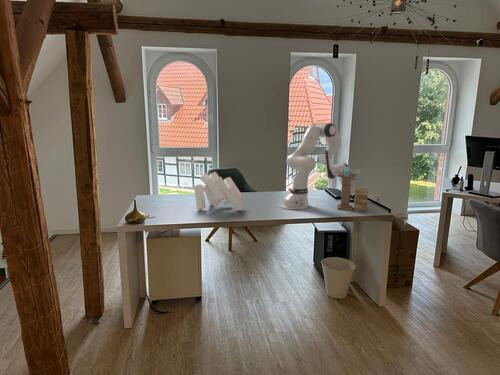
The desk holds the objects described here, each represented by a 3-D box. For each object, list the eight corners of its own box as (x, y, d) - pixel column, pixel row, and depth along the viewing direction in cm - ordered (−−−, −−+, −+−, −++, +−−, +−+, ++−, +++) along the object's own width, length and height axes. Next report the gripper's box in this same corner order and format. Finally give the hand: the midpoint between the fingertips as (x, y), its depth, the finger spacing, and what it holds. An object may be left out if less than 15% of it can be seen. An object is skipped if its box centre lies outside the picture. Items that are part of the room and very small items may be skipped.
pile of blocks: (245, 210, 276) (232, 169, 282) (247, 206, 247) (231, 160, 252) (203, 224, 273) (190, 182, 278) (199, 221, 244) (185, 175, 249)
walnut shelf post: (336, 206, 269) (338, 172, 264) (352, 206, 267) (354, 173, 261) (336, 209, 260) (338, 175, 254) (353, 210, 257) (355, 175, 251)
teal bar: (343, 171, 270) (344, 166, 269) (348, 171, 269) (348, 166, 269) (344, 176, 249) (344, 171, 249) (349, 176, 249) (350, 171, 248)
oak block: (354, 206, 267) (355, 187, 264) (365, 207, 265) (366, 188, 262) (354, 211, 256) (356, 191, 253) (366, 211, 254) (367, 191, 251)
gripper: (332, 171, 282) (332, 164, 269) (359, 172, 277) (360, 165, 264) (332, 178, 280) (332, 172, 267) (358, 179, 275) (360, 173, 263)
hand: (346, 169), depth 266 cm, fingers closed on teal bar, 3 cm apart
